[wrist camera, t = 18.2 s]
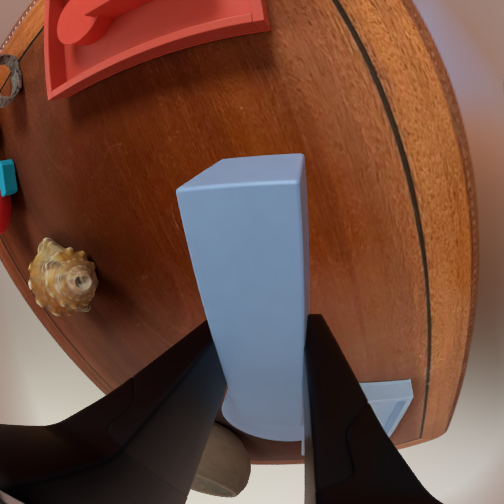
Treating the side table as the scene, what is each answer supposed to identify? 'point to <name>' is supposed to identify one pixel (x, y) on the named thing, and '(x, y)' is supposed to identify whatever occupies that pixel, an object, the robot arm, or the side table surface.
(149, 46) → the red tray
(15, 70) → the wristwatch
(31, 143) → the side table surface
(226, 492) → the bowl
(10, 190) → the toy figure
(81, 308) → the seashell
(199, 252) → the blue spoon
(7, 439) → the robot arm
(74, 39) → the red spoon
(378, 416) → the blue tray
